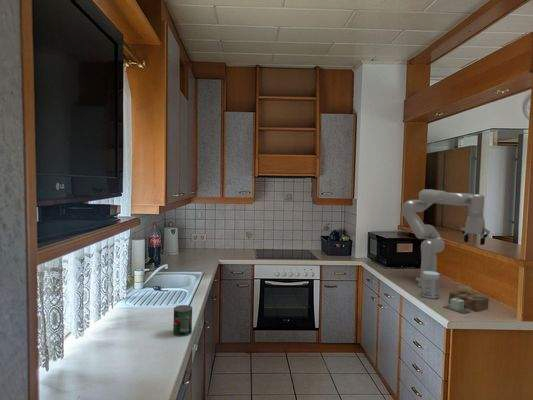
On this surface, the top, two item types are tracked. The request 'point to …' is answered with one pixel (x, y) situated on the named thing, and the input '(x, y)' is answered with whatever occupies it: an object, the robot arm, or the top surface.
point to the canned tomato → (182, 320)
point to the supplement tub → (430, 284)
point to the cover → (457, 304)
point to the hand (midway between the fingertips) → (474, 243)
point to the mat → (456, 310)
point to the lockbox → (471, 300)
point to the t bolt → (464, 289)
